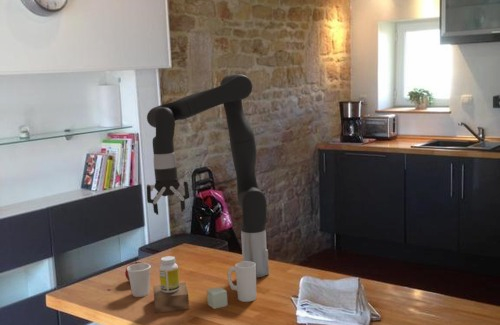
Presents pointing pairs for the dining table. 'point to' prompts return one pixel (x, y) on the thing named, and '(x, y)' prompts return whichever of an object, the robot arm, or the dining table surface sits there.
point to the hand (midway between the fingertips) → (169, 212)
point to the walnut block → (171, 299)
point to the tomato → (127, 271)
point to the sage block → (217, 297)
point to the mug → (244, 280)
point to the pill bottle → (169, 275)
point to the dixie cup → (139, 279)
